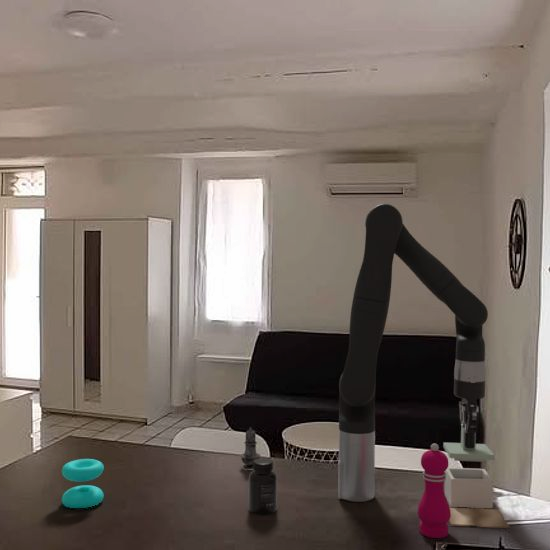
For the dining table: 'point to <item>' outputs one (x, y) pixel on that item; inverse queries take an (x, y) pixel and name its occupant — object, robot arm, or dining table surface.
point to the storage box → (468, 488)
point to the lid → (468, 450)
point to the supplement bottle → (262, 488)
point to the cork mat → (477, 518)
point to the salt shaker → (250, 450)
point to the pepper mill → (434, 495)
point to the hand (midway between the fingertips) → (468, 445)
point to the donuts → (85, 493)
